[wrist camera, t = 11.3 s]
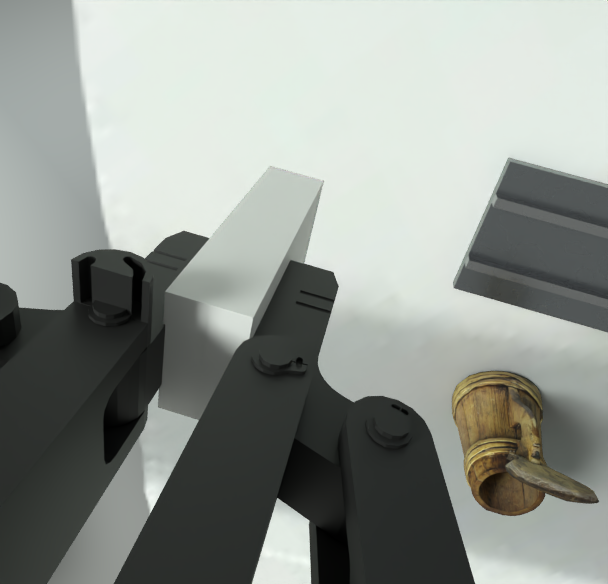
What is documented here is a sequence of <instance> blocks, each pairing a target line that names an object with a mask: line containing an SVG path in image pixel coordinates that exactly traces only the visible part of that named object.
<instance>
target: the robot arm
mask: <svg viewBox="0 0 608 584" xmlns="http://www.w3.org/2000/svg"><path fill="white" fill-rule="evenodd" d="M323 182H324V181H323V180H319V179H315V178H312V177H308V176H304V175H301V174H297V173H294V172H290V171H286V170H283V169H279V168H275V167H272V166H270V167H269V168H268V169H267V171H266V172H265V173H264V174H263V175H262V177H261V178H260V179H259V180H258V181H257V182H256V184H255V185H254V186H253V187H252V188H251V190H250V191H249V192H248V193H247V194H246V196H245V197H244V198H243V199H242V200H241V202H240V203H239V204H238V205H237V206H236V208H235V209H234V210H233V211H232V212H231V213H230V215H229V216H228V217H227V218H226V219H225V221H224V222H223V223H222V224H221V225H220V227H219V228H218V229H217V230H216V231H215V233H214V234H213V235H212V236H211V237H210V238H207V237H203V236H200V235H196V234H193V233H189V232H186V231H182V232H180V233H177V234H175V235H172V236H170V237H167V238H165V239H164V240H163V241H162V242H161V243H160V244H159V245H158V246H157V247H156V248H155V249H154V252H151V253H150V254H149V255H148V256H147V257H146V258H145V259H144V258H143V257H141V256H138V255H136V254H134V253H131V252H127V251H121V250H115V249H114V250H95V251H91V252H87V253H83V254H81V255H79V256H77V257H75V258H73V259H72V260H71V262H72V279H73V296H74V302H73V303H71V304H70V305H69V306H68V307H67V308H66V309H65V310H44V309H30V308H19V306H18V300H17V295H16V292H15V291H13V290H12V289H11V288H10V287H9V286H8V285H5V284H2V283H0V584H47V583H48V581H49V580H50V578H51V576H52V575H53V573H54V571H55V570H56V568H57V567H58V565H59V563H60V562H61V560H62V559H63V557H64V556H65V554H66V552H67V551H68V549H69V547H70V546H71V544H72V543H73V541H74V540H75V538H76V536H77V535H78V533H79V532H80V530H81V528H82V527H83V525H84V524H85V522H86V520H87V519H88V517H89V516H90V514H91V512H92V511H93V509H94V508H95V506H96V504H97V503H98V501H99V499H100V498H101V496H102V495H103V493H104V492H105V490H106V488H107V487H108V485H109V484H110V482H111V481H112V479H113V477H114V476H115V474H116V473H117V471H118V469H119V468H120V466H121V465H122V463H123V461H124V460H125V458H126V457H127V455H128V453H129V452H130V450H131V449H132V447H133V445H134V444H135V442H136V440H137V439H138V437H139V436H140V434H141V433H142V431H143V429H144V427H145V424H146V421H147V414H148V404H149V403H150V401H151V400H152V398H153V397H154V395H155V394H156V392H157V390H158V389H159V399H158V407H159V408H162V409H165V410H169V411H172V412H175V413H178V414H182V415H185V416H188V417H191V418H194V419H198V420H199V422H198V423H197V425H196V427H195V429H194V431H193V433H192V435H191V437H190V439H189V441H188V443H187V445H186V446H185V448H184V450H183V452H182V454H181V456H180V458H179V460H178V462H177V464H176V466H175V467H174V469H173V471H172V473H171V475H170V477H169V479H168V481H167V483H166V485H165V487H164V489H163V490H162V492H161V494H160V496H159V498H158V500H157V502H156V504H155V506H154V508H153V510H152V512H151V513H150V515H149V517H148V519H147V521H146V523H145V525H144V527H143V529H142V531H141V533H140V535H139V537H138V539H137V541H136V542H135V544H134V546H133V548H132V550H131V552H130V554H129V556H128V558H127V560H126V561H125V564H124V565H123V567H122V569H121V571H120V573H119V575H118V577H117V579H116V581H115V582H114V584H252V581H253V578H254V574H255V571H256V567H257V564H258V561H259V557H260V554H261V550H262V547H263V544H264V540H265V537H266V534H267V530H268V527H269V523H270V520H271V517H272V513H273V510H274V506H275V503H276V500H277V498H279V499H280V500H281V501H283V502H284V503H286V504H287V505H288V506H290V507H291V508H293V509H294V510H295V511H297V512H298V513H300V514H301V515H302V516H304V517H305V518H307V519H308V520H310V522H309V533H310V560H311V584H475V582H474V578H473V575H472V572H471V568H470V565H469V561H468V558H467V555H466V551H465V548H464V544H463V541H462V537H461V534H460V531H459V527H458V524H457V520H456V517H455V514H454V510H453V507H452V503H451V500H450V496H449V493H448V490H447V486H446V483H445V479H444V476H443V473H442V469H441V466H440V462H439V459H438V455H437V452H436V449H435V445H434V442H433V438H432V435H431V432H430V430H429V429H428V427H427V425H426V423H425V421H424V420H423V419H422V418H421V417H420V416H419V415H418V414H417V413H416V412H415V411H414V410H413V409H412V408H411V407H409V406H407V405H405V404H404V403H402V402H400V401H398V400H395V399H391V398H388V397H384V396H367V397H365V398H362V399H360V400H358V401H355V403H354V402H352V401H350V400H349V399H347V398H345V397H344V396H342V395H341V394H339V393H338V392H336V391H335V390H334V389H332V388H331V387H330V386H329V385H328V383H327V382H326V381H325V380H324V378H323V377H322V375H321V373H320V371H319V367H318V356H319V352H320V349H321V345H322V342H323V338H324V335H325V332H326V328H327V325H328V321H329V318H330V314H331V311H332V307H333V304H334V301H335V297H336V294H337V290H338V287H339V286H338V284H337V281H336V278H335V276H334V273H333V272H331V271H327V270H324V269H320V268H317V267H314V266H310V265H307V264H304V262H305V257H306V253H307V249H308V245H309V241H310V236H311V232H312V228H313V224H314V220H315V215H316V211H317V207H318V203H319V199H320V194H321V190H322V186H323Z"/></svg>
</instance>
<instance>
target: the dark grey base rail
mask: <svg viewBox="0 0 608 584" xmlns="http://www.w3.org/2000/svg"><path fill="white" fill-rule="evenodd" d="M453 286H454V288H456V289H459V290H463V291H466V292H470V293H473V294H477V295H480V296H484V297H487V298H491V299H494V300H498V301H501V302H504V303H508V304H511V305H515V306H518V307H522V308H525V309H529V310H532V311H536V312H539V313H543V314H546V315H550V316H553V317H557V318H560V319H564V320H567V321H571V322H574V323H578V324H581V325H585V326H588V327H592V328H595V329H598V330H602V331H605V332H608V184H604V183H601V182H597V181H593V180H590V179H586V178H582V177H578V176H575V175H571V174H567V173H564V172H560V171H556V170H552V169H549V168H545V167H541V166H538V165H534V164H530V163H526V162H523V161H519V160H515V159H512V158H508V160H507V162H506V164H505V167H504V169H503V171H502V173H501V176H500V178H499V180H498V182H497V185H496V187H495V189H494V191H493V194H492V196H491V198H490V201H489V203H488V205H487V207H486V210H485V212H484V214H483V216H482V219H481V221H480V223H479V225H478V228H477V230H476V232H475V234H474V237H473V239H472V241H471V243H470V246H469V248H468V250H467V252H466V255H465V257H464V259H463V261H462V264H461V266H460V268H459V270H458V273H457V275H456V277H455V279H454V282H453Z"/></svg>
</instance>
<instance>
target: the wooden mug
mask: <svg viewBox="0 0 608 584" xmlns="http://www.w3.org/2000/svg"><path fill="white" fill-rule="evenodd" d="M452 414H453V419H454V421H455V424H456V426H457V427H458V431H459V435H460V440H461V444H462V448H463V453H464V470H465V475H466V480H467V483H468V485H469V486H470V487H471V490H472V494H473V496H474V498H475V500H476V501H477V502H478V503H479V504H480V505H481V506H482V507H483V508H485V509H486V510H488V511H491V512H495V513H498V514H501V515H507V516H516V515H522V514H525V513H528V512H530V511H532V510H534V509H536V508H537V507H538V506H539V505H540V504H541V502H542V501H543V499H544V497H545V493H546V494H549V495H552V496H554V497H557V498H560V499H562V500H565V501H570V502H577V503H588V504H592V503H598V502H599V500H598V498H597V496H596V495H595V493H594V491H593V490H591V489H590V488H588V487H587V486H585V485H583V484H581V483H579V482H577V481H575V480H573V479H571V478H569V477H567V476H565V475H563V474H561V473H559V472H557V471H555V470H553V469H551V468H549V467H548V466H547V465H546V462H545V460H544V458H543V452H542V438H541V422H542V420H543V410H542V400H541V395H540V393H539V391H538V389H537V387H536V386H535V385H534V384H533V383H531V382H530V381H529V380H528V379H525V378H522V377H520V376H517V375H515V374H512V373H508V372H503V371H487V372H480V373H477V374H473V375H470V376H468V377H467V378H466V379H464V380H463V381H462V382H461V383H459V384H458V385H457V386H456V389H455V391H454V393H453V396H452Z"/></svg>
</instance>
